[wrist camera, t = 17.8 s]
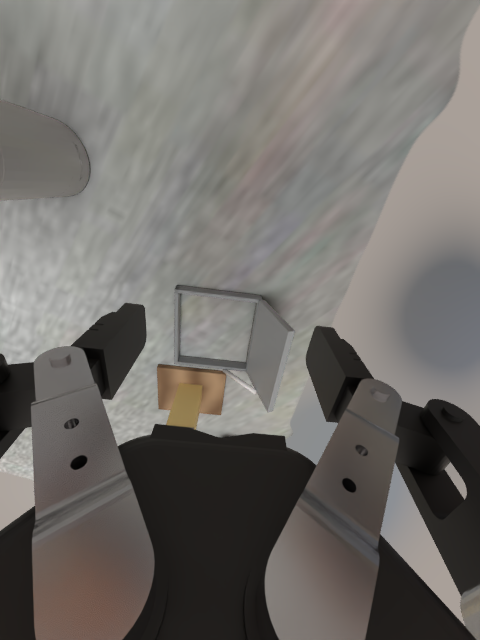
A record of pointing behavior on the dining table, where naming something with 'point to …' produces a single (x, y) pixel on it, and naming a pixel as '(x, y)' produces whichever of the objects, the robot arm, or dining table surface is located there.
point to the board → (207, 378)
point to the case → (264, 347)
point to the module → (186, 406)
